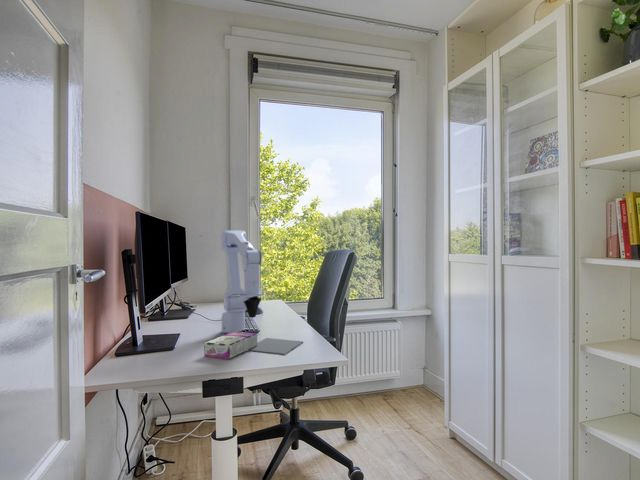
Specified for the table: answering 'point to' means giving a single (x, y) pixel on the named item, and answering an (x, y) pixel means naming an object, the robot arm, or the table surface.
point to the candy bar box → (230, 344)
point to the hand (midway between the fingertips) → (252, 317)
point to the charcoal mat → (276, 346)
